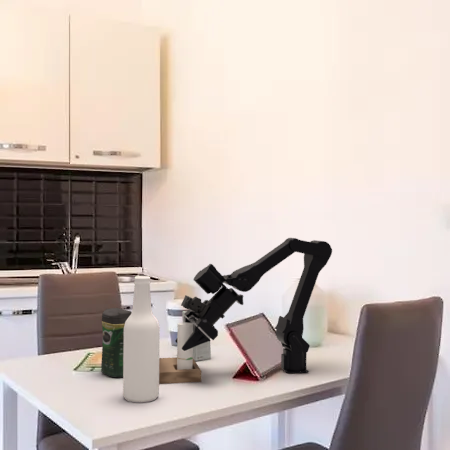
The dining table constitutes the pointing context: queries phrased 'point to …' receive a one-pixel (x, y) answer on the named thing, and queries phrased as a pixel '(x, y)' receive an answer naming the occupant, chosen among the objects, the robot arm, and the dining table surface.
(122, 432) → the dining table surface
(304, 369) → the robot arm
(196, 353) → the skincare box
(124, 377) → the alcohol
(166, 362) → the wooden block with hole
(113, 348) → the coffee jar
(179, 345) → the tube
